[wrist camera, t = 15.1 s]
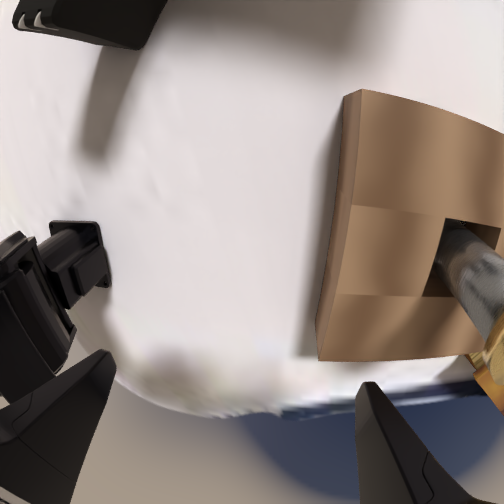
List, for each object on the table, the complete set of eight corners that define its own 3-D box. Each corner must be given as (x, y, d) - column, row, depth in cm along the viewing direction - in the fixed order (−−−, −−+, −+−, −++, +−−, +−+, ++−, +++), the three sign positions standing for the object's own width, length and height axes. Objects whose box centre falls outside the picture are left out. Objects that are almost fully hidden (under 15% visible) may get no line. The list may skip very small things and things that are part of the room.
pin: (417, 274, 20) (489, 399, 9) (400, 222, 18) (499, 343, 7) (465, 247, 18) (554, 348, 7) (452, 193, 17) (571, 280, 5)
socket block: (314, 322, 23) (318, 361, 19) (343, 96, 15) (361, 88, 11) (472, 322, 22) (490, 350, 18) (523, 152, 14) (556, 164, 10)
